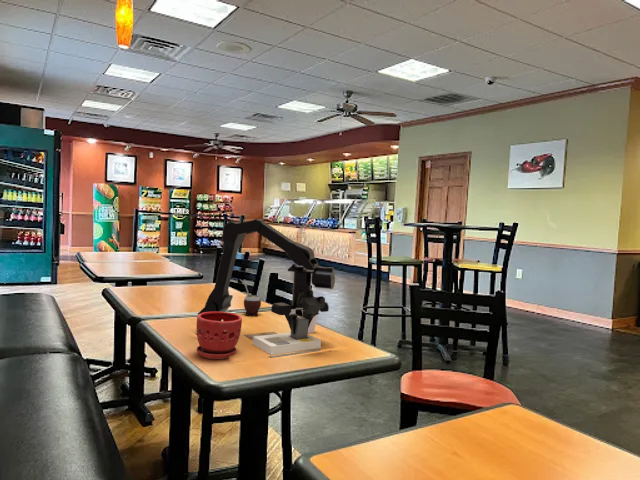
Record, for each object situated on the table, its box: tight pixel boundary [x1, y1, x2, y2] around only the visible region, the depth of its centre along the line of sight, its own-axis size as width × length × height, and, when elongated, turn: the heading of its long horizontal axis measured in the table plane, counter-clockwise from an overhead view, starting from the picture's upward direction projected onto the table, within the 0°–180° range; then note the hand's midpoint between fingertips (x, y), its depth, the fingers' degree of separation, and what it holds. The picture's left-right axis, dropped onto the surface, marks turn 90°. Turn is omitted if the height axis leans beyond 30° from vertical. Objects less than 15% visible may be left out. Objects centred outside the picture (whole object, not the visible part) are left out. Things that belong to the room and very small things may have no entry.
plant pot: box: [196, 311, 243, 360], centre depth 141 cm, size 13×13×12 cm
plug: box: [290, 315, 309, 340], centre depth 153 cm, size 4×4×7 cm
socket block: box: [252, 331, 322, 359], centre depth 151 cm, size 18×12×4 cm, turn 125°
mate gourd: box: [239, 279, 262, 317], centre depth 196 cm, size 8×8×15 cm
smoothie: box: [301, 310, 318, 334], centre depth 171 cm, size 6×6×14 cm
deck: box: [243, 331, 279, 341], centre depth 161 cm, size 12×9×1 cm
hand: (299, 333), depth 153 cm, fingers closed on plug, 4 cm apart
